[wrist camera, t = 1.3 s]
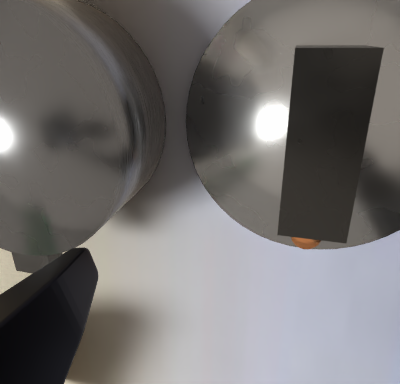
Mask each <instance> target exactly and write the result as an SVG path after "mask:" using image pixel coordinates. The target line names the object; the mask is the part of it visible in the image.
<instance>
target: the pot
mask: <svg viewBox="0 0 400 384" xmlns="http://www.w3.org/2000/svg"><path fill="white" fill-rule="evenodd" d="M165 128H166V118H165V109H164V103H163V98H162V94H161V90H160V87H159V84H158V81H157V79H156V76H155V73H154V71H153V69H152V67H151V65H150V63H149V61H148V59H147V58H146V56H145V55H144V53H143V52H142V50H141V49H140V47H139V46H138V44H137V43H136V42H135V41H134V40H133V38H132V37H131V36H130V35H129V34H128V33H127V32H126V31H125V30H124V29H123V28H122V27H121V26H120V25H119V24H118V23H117V22H116V21H114V20H113V19H112V18H110V17H109V16H107V15H106V14H105V13H103V12H101V11H100V10H98V9H96V8H94V7H92V6H90V5H88V4H85V3H83V2H80V1H77V0H0V248H2V249H4V250H7V251H10V252H12V256H13V259H14V263H15V267H16V270H17V271H22V272H27V273H34V272H36V271H38V270H39V269H41V268H42V267H44V266H45V265H47V264H48V263H50V262H51V261H53V260H54V259H56V258H57V257H59V256H61V255H62V252H65V251H68V250H70V249H72V248H75V247H77V246H79V245H81V244H82V243H84V242H85V241H86V240H88V239H89V238H90V237H91V236H93V235H94V234H95V233H96V232H97V231H98V230H99V229H100V228H101V227H102V226H103V225H104V224H105V223H106V222H107V221H108V220H109V219H110V218H111V217H112V216H113V215H114V214H116V213H117V212H118V211H119V210H120V209H121V208H122V207H123V206H124V205H125V204H126V203H127V202H128V201H129V200H130V199H131V198H132V197H133V196H134V195H135V194H136V193H137V192H138V191H139V190H140V189H141V188H142V187H143V186H144V185H145V184H146V183H147V182H148V181H149V179H150V178H151V176H152V174H153V173H154V171H155V169H156V167H157V165H158V163H159V160H160V158H161V154H162V151H163V147H164V140H165Z"/></svg>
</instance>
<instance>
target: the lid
mask: <svg viewBox="0 0 400 384" xmlns="http://www.w3.org/2000/svg"><path fill="white" fill-rule="evenodd" d="M186 128H187V140H188V145H189V149H190V154H191V157H192V160H193V163H194V166H195V169H196V171H197V173H198V175H199V177H200V179H201V181H202V183H203V185H204V186H205V188H206V189H207V191H208V192H209V194H210V195H211V197H212V198H213V199H214V200H215V202H216V203H217V204H218V205H219V206H220V207H221V208H222V209H223V210H224V211H225V212H226V213H227V214H228V215H229V216H230V217H231V218H233V219H234V220H235V221H237V222H238V223H239V224H241V225H242V226H244V227H245V228H247V229H249V230H250V231H252V232H254V233H256V234H257V235H260V236H262V237H265V238H267V239H269V240H272V241H275V242H278V243H281V244H285V245H289V246H294V247H299V248H302V249H338V248H345V247H353V246H357V245H361V244H365V243H369V242H372V241H375V240H378V239H380V238H383V237H386V236H388V235H390V234H392V233H394V232H396V231H398V230H400V0H251V1H250V2H249V3H247V4H246V5H245V6H243V7H242V8H241V9H239V10H238V11H237V12H236V13H235V14H234V15H233V16H232V17H231V18H230V19H229V20H228V21H227V22H226V23H225V24H224V25H223V27H222V28H221V29H220V30H219V32H218V33H217V34H216V36H215V37H214V38H213V39H212V41H211V43H210V44H209V46H208V48H207V49H206V51H205V53H204V54H203V56H202V58H201V60H200V62H199V65H198V67H197V69H196V72H195V74H194V77H193V81H192V84H191V87H190V91H189V97H188V103H187V114H186Z"/></svg>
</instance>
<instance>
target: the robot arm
mask: <svg viewBox="0 0 400 384" xmlns="http://www.w3.org/2000/svg"><path fill="white" fill-rule="evenodd" d="M97 281H98V271H97V268H96V266H95V263H94V261H93V258H92V256H91V253H90V251H89V250H88V249H87V248H72V249H70V250H68V251H67V252H65V253H64V254H62V255H61V256H59V257H57V258H56V259H54V260H53V261H51V262H50V263H48V264H47V265H45V266H44V267H42V268H41V269H39V270H38V271H36V272H34V273H33V274H31V275H30V276H28V277H27V278H25V279H24V280H22V281H21V282H19V283H18V284H16V285H14V286H13V287H11V288H10V289H8V290H7V291H5V292H4V293H2V294H1V295H0V384H64V382H65V379H66V377H67V374H68V371H69V369H70V366H71V364H72V361H73V359H74V356H75V353H76V351H77V348H78V346H79V343H80V340H81V337H82V335H83V332H84V329H85V325H86V322H87V318H88V315H89V311H90V307H91V303H92V300H93V296H94V292H95V289H96V285H97Z"/></svg>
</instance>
